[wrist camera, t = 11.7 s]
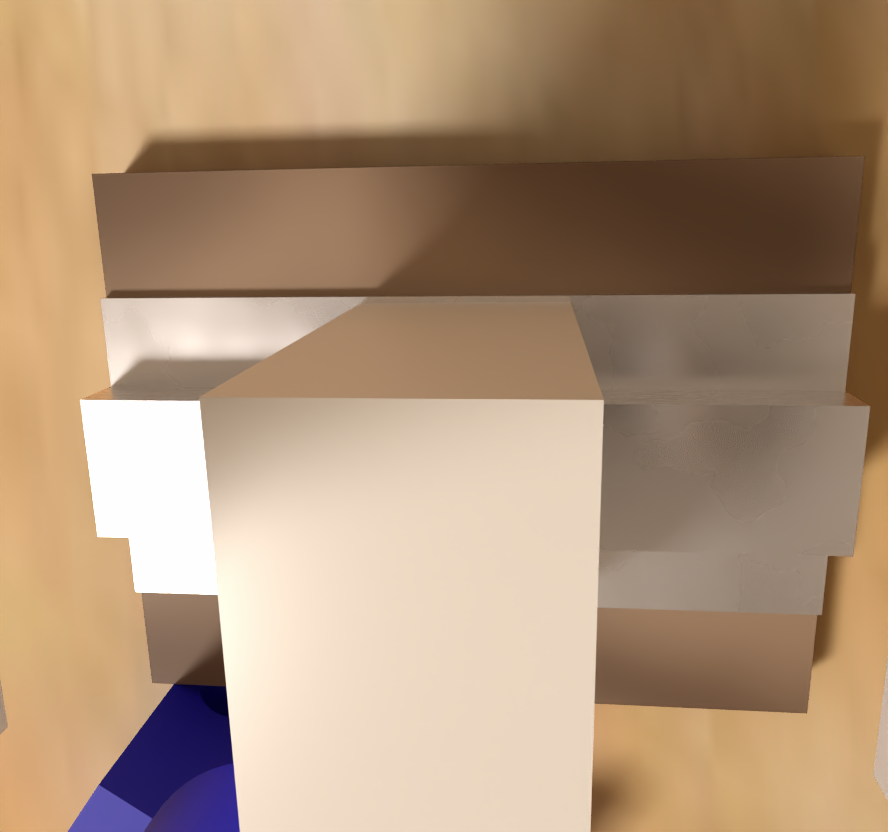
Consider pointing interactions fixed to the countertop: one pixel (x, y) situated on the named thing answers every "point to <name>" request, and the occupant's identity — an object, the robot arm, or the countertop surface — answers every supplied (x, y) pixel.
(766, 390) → the steel rail
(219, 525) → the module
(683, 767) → the countertop surface
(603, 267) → the board
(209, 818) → the cable clip
